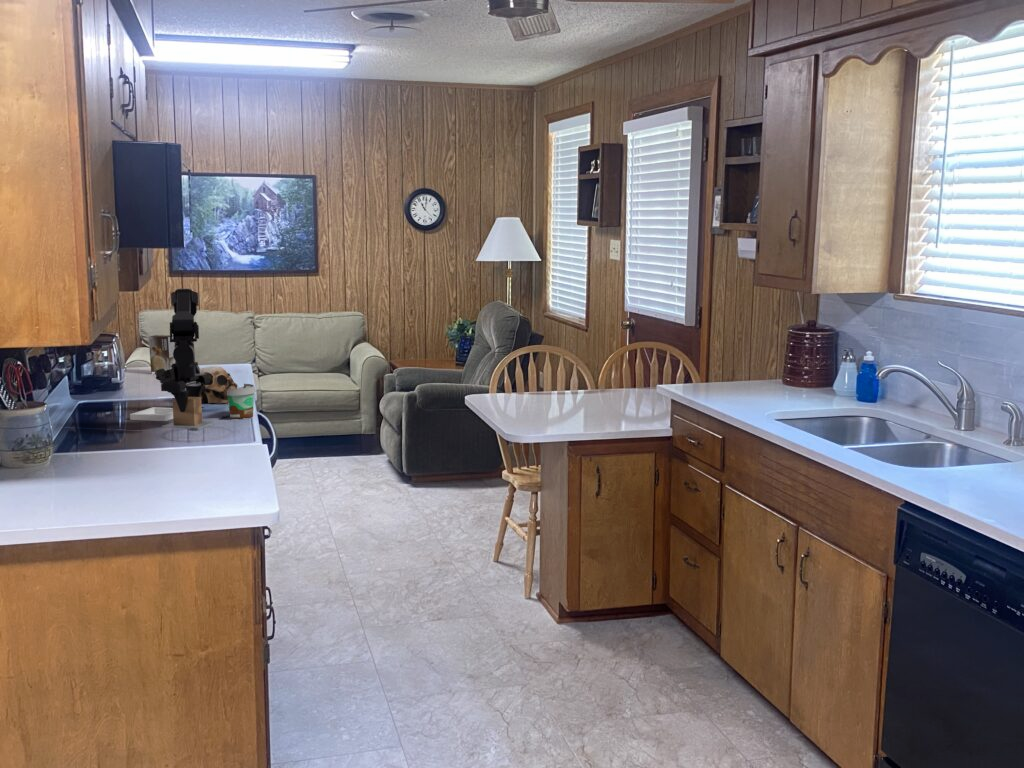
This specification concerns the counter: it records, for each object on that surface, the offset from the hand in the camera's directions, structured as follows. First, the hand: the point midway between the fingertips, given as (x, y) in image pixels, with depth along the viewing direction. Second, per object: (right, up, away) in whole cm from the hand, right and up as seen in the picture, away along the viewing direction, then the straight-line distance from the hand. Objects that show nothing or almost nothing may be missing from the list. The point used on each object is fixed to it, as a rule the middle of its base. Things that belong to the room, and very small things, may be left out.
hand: (187, 410), depth 300 cm
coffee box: (-47, +12, +114) cm, 124 cm away
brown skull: (-5, +2, +46) cm, 46 cm away
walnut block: (0, -4, +1) cm, 4 cm away
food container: (+14, -3, +16) cm, 21 cm away
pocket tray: (-14, -3, +14) cm, 20 cm away
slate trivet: (0, -5, +1) cm, 5 cm away
